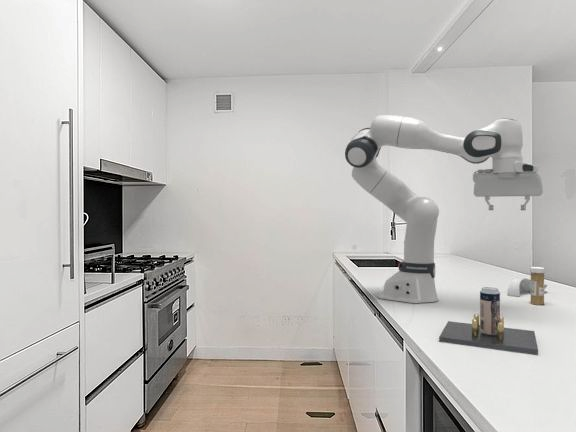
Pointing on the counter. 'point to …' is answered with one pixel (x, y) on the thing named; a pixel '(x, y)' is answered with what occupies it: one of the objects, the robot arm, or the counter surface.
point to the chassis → (490, 337)
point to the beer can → (489, 310)
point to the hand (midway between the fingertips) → (506, 210)
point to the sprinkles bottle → (537, 285)
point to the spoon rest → (520, 286)
